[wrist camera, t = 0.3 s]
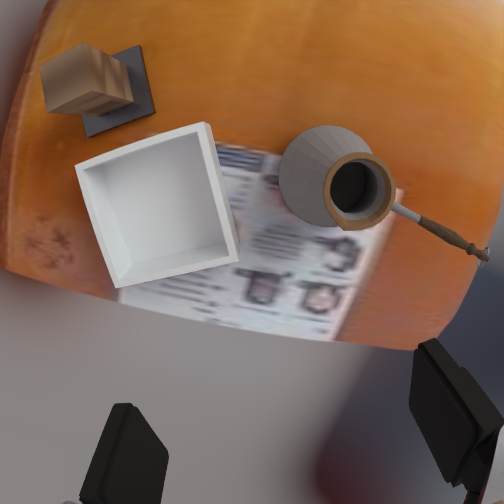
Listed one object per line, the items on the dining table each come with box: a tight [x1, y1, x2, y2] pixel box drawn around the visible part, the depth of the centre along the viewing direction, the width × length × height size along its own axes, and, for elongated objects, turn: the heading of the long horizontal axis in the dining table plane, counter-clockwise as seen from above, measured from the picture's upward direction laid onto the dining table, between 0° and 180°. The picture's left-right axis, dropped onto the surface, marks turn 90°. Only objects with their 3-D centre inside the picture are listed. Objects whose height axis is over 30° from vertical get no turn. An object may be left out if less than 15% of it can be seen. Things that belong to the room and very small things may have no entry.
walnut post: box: [40, 42, 134, 117], centre depth 26 cm, size 5×5×11 cm
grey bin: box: [75, 122, 240, 288], centre depth 34 cm, size 15×15×6 cm
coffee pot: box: [279, 125, 490, 268], centre depth 30 cm, size 21×12×15 cm, turn 69°
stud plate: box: [82, 45, 156, 137], centre depth 30 cm, size 9×9×5 cm
